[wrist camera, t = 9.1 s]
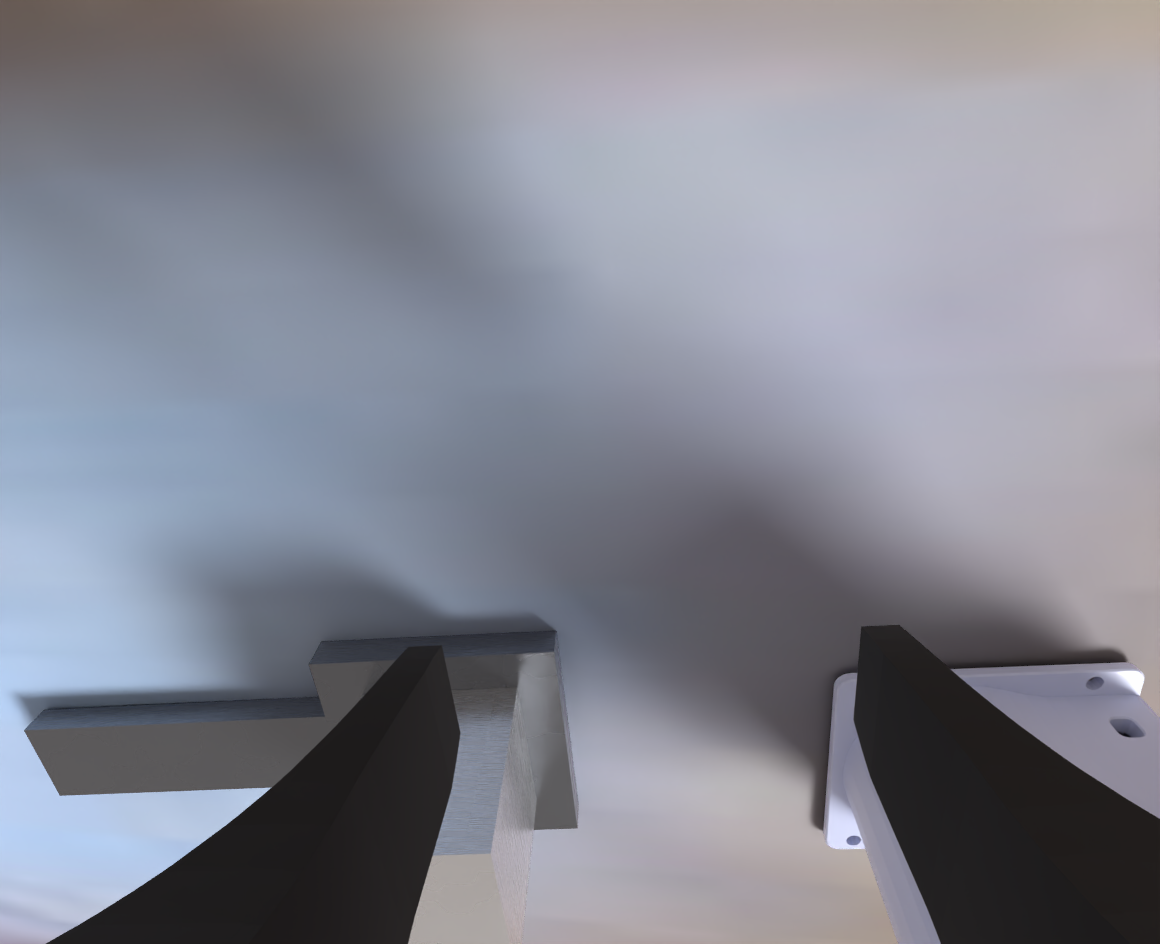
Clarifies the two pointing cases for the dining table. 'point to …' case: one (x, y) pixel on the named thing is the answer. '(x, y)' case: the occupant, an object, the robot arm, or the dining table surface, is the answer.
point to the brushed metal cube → (482, 829)
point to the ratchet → (304, 724)
